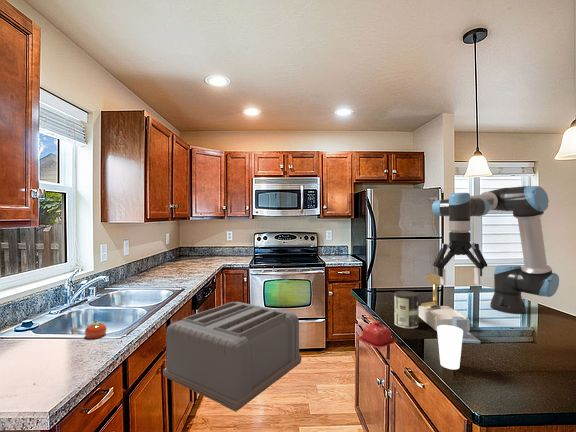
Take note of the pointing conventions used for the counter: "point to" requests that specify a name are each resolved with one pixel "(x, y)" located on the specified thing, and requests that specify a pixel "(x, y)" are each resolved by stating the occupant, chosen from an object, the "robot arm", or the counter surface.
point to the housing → (440, 316)
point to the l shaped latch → (436, 281)
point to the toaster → (232, 351)
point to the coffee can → (406, 309)
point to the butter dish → (376, 335)
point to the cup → (450, 345)
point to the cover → (464, 330)
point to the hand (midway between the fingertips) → (460, 284)
